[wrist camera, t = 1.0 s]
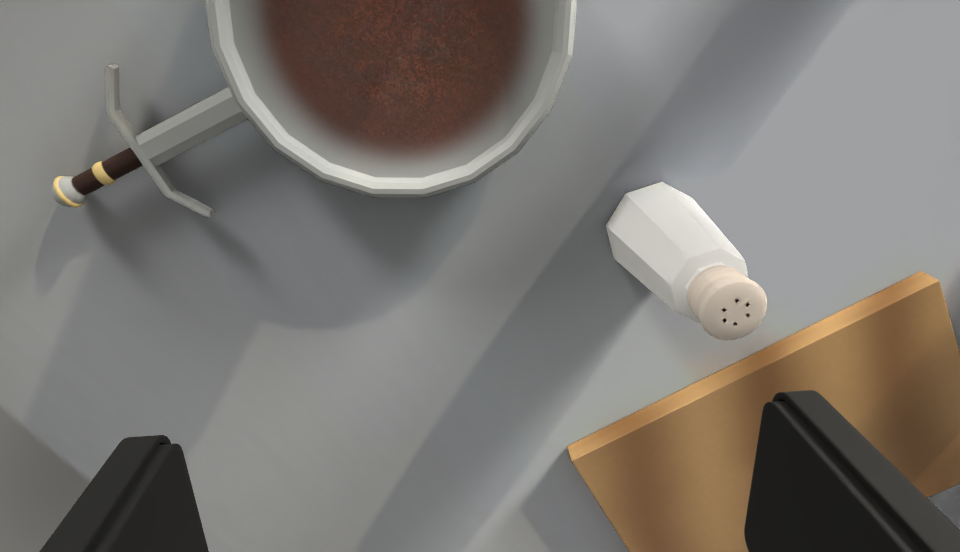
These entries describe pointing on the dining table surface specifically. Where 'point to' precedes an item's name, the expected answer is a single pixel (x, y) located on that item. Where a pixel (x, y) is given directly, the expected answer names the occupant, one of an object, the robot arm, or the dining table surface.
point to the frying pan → (363, 92)
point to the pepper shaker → (685, 260)
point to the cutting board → (738, 411)
